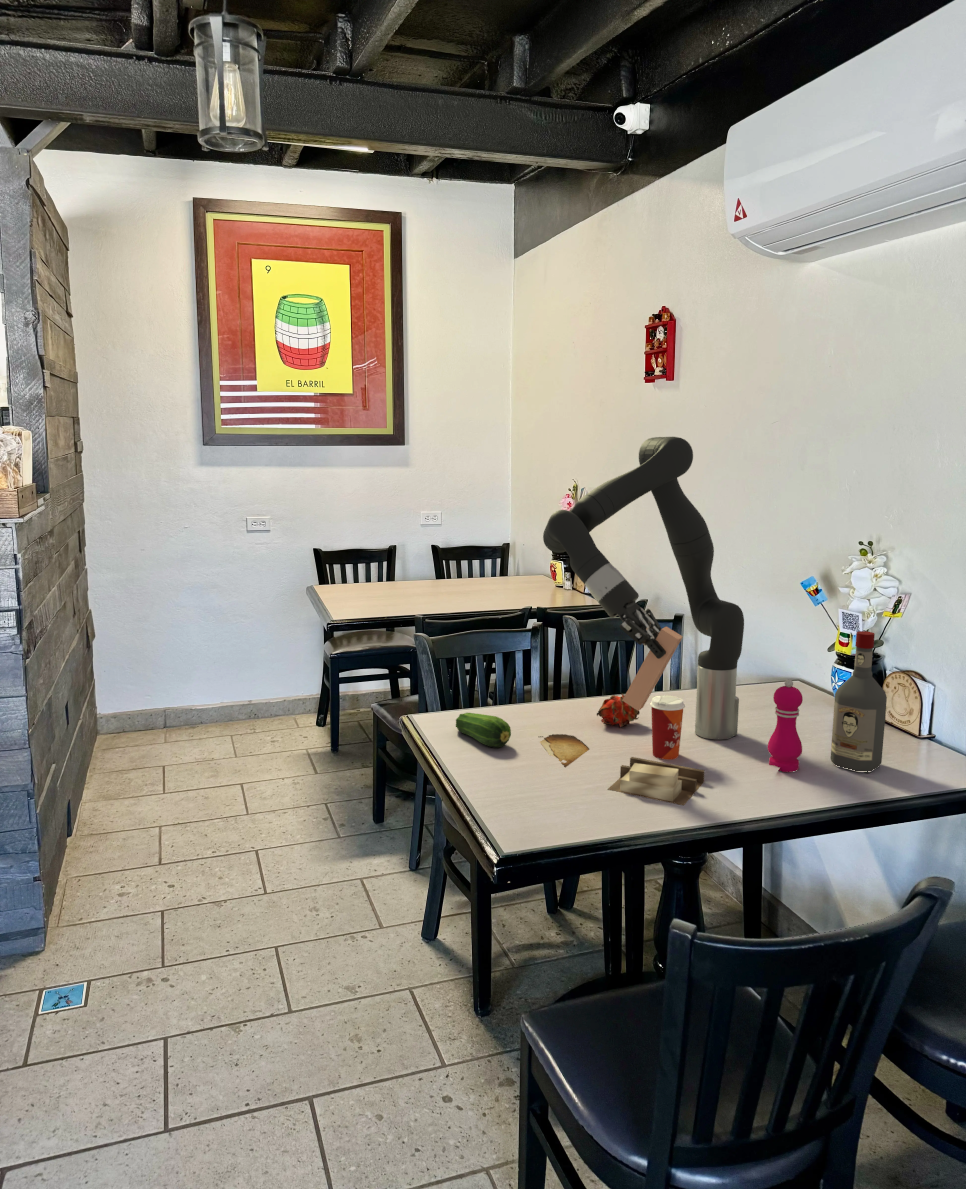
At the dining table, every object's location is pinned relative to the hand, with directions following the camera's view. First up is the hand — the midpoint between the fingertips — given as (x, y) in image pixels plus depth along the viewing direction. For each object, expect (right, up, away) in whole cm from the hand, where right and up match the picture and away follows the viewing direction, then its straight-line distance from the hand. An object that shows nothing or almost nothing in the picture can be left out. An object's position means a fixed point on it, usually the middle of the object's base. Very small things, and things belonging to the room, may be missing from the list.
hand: (665, 653), depth 181 cm
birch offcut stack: (-3, -28, -1) cm, 28 cm away
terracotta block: (-6, -11, +5) cm, 13 cm away
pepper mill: (+29, -26, +14) cm, 42 cm away
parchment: (-17, -25, +24) cm, 39 cm away
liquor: (+45, -26, +16) cm, 55 cm away
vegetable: (-38, -23, +33) cm, 55 cm away
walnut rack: (-2, -28, +2) cm, 28 cm away
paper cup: (+4, -25, +19) cm, 32 cm away
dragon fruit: (-3, -21, +43) cm, 48 cm away
